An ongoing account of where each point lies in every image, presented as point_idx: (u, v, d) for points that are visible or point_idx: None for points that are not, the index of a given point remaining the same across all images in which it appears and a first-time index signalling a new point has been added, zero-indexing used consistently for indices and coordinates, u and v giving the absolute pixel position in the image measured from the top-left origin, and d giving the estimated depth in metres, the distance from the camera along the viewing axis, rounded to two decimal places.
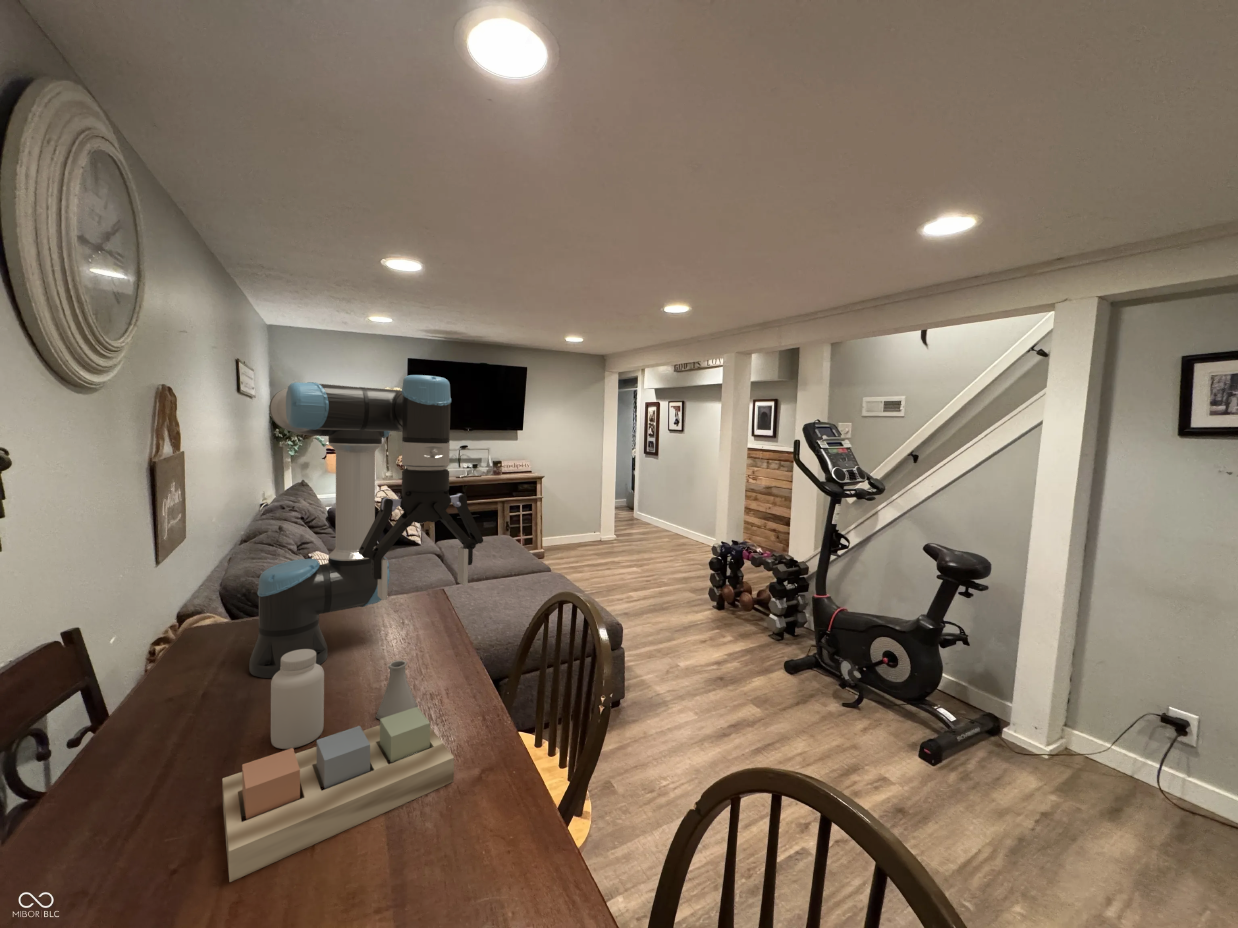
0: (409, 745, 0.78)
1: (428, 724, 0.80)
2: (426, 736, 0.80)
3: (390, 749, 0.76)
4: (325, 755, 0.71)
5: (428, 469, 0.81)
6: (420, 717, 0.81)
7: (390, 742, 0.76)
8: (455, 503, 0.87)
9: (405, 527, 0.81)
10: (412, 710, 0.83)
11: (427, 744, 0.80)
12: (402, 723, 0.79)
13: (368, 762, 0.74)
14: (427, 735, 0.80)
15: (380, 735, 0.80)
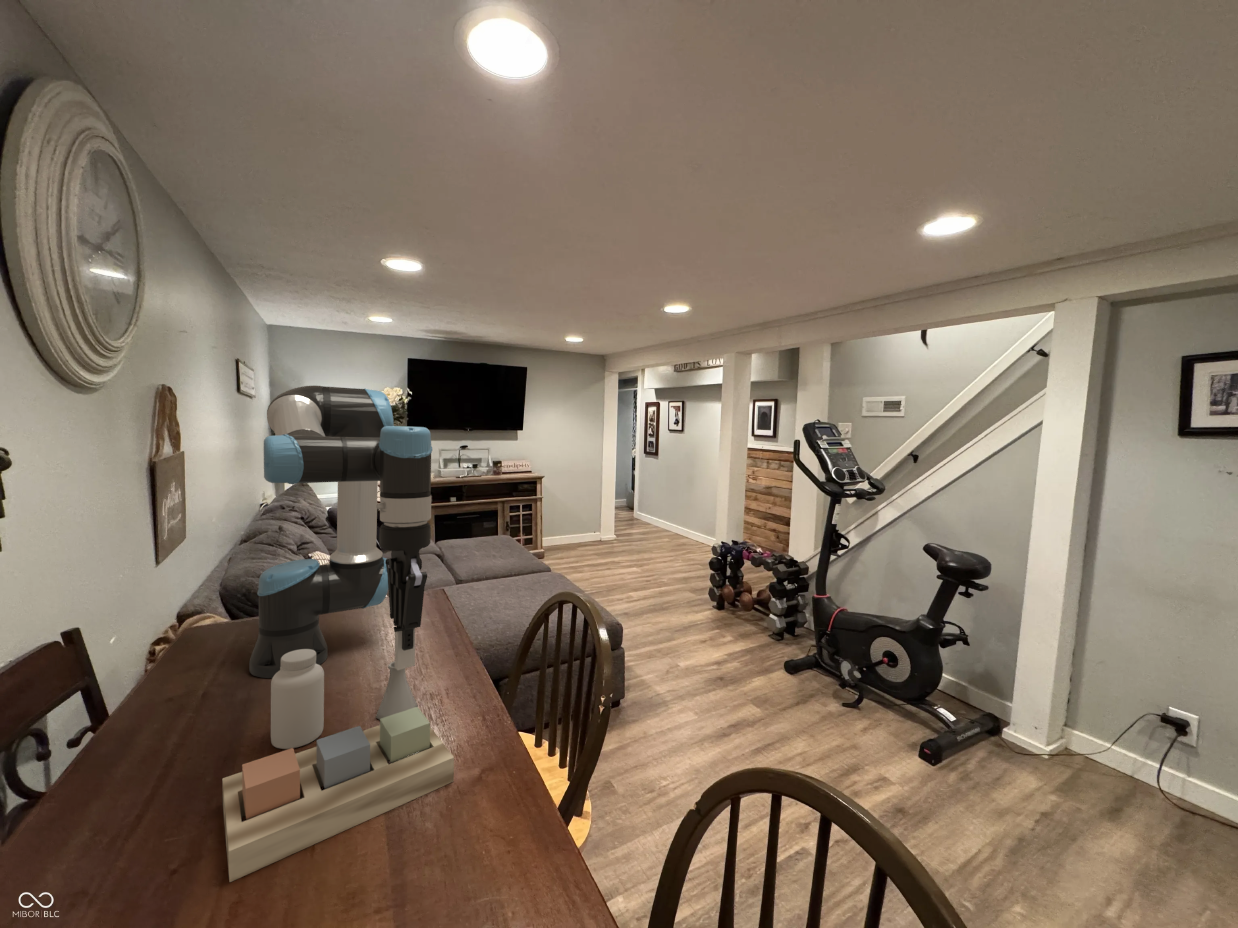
0: (409, 745, 0.78)
1: (428, 724, 0.80)
2: (426, 736, 0.80)
3: (390, 749, 0.76)
4: (325, 755, 0.71)
5: (384, 523, 0.77)
6: (420, 717, 0.81)
7: (390, 742, 0.76)
8: None
9: (395, 586, 0.79)
10: (412, 710, 0.83)
11: (427, 744, 0.80)
12: (402, 723, 0.79)
13: (368, 762, 0.74)
14: (427, 735, 0.80)
15: (380, 735, 0.80)
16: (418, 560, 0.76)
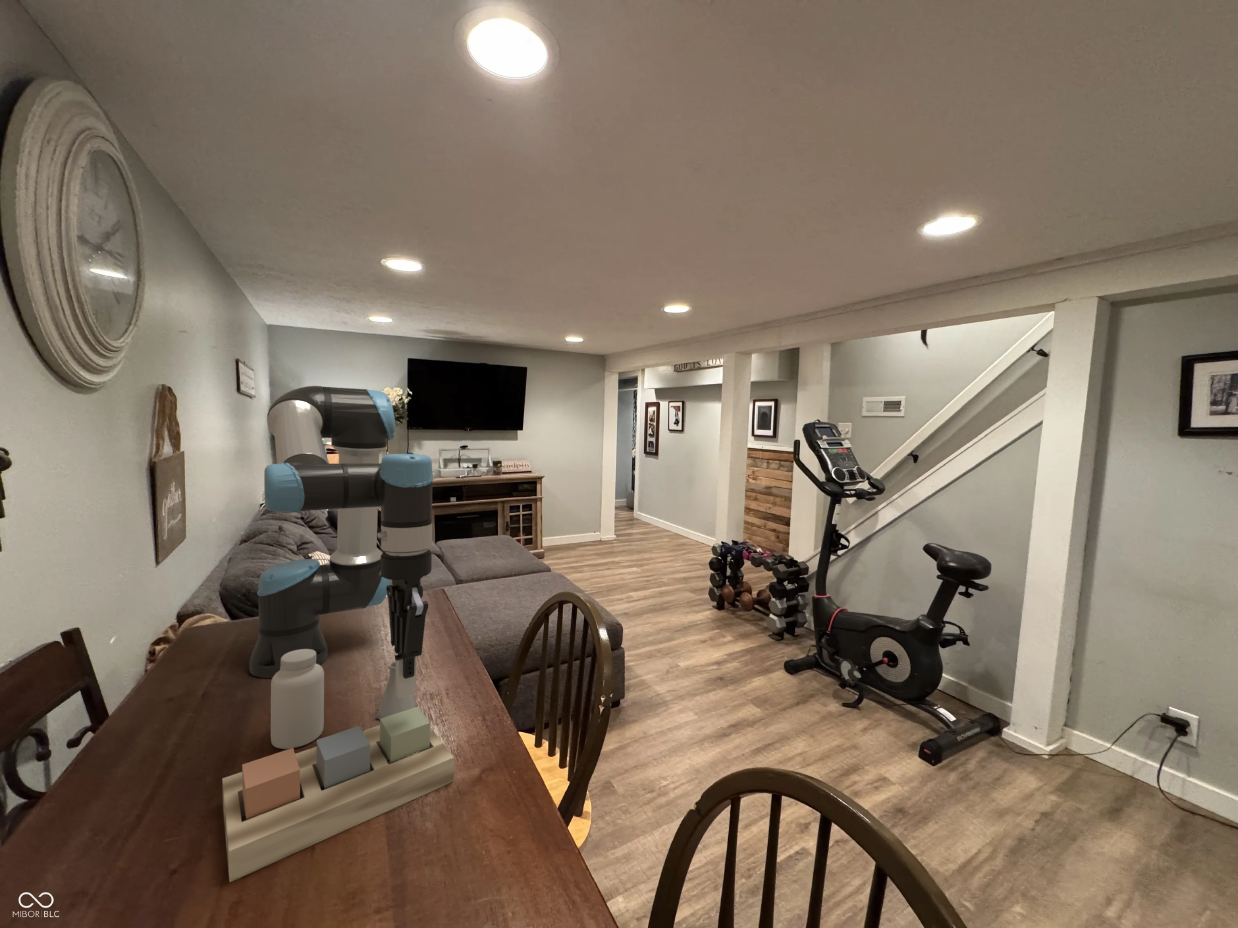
0: (409, 745, 0.78)
1: (428, 724, 0.80)
2: (426, 736, 0.80)
3: (390, 749, 0.76)
4: (325, 755, 0.71)
5: (385, 552, 0.77)
6: (420, 717, 0.81)
7: (390, 742, 0.76)
8: (412, 604, 0.75)
9: (396, 614, 0.79)
10: (412, 710, 0.83)
11: (427, 744, 0.80)
12: (402, 723, 0.79)
13: (368, 762, 0.74)
14: (427, 735, 0.80)
15: (380, 735, 0.80)
16: (419, 589, 0.76)
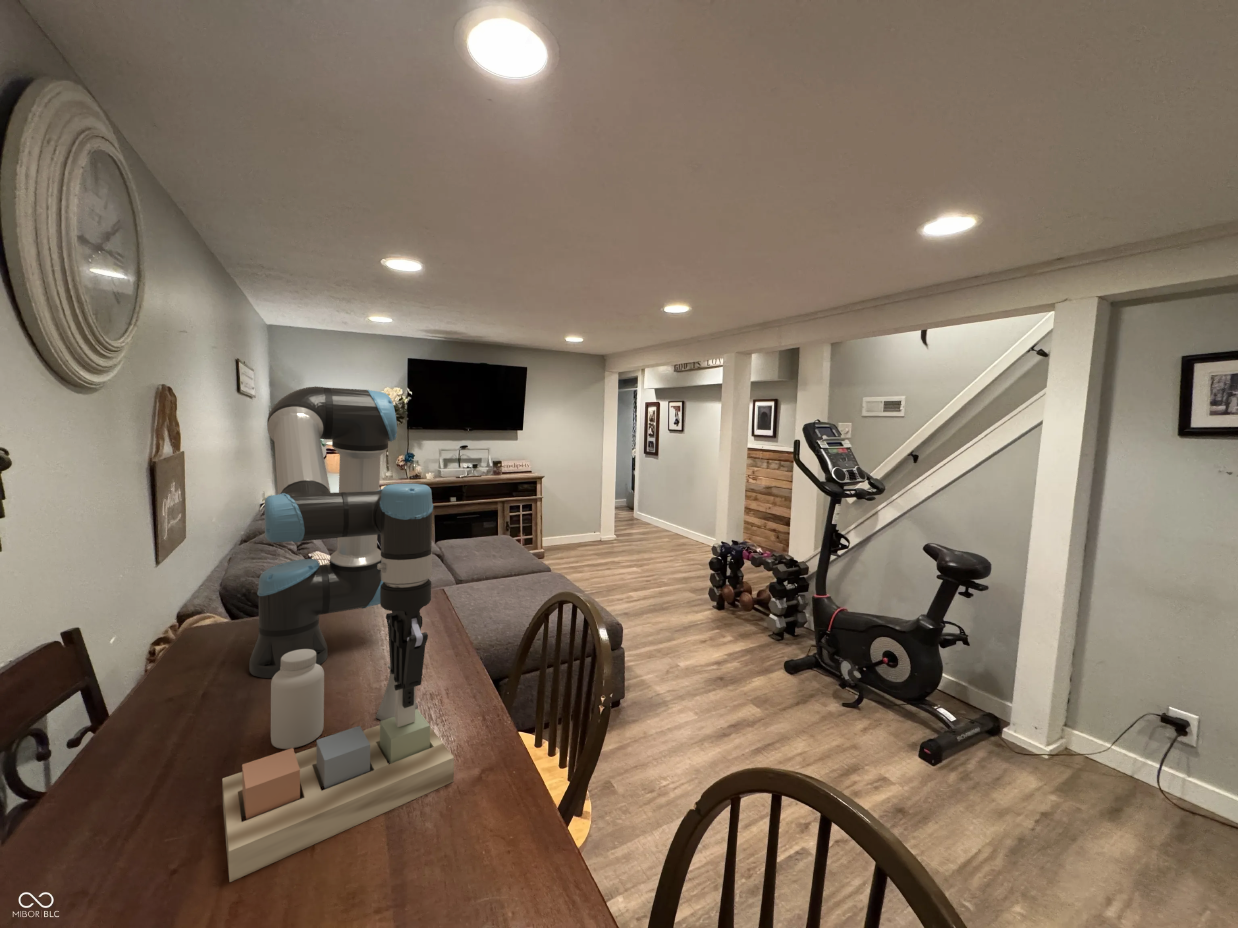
0: (409, 747, 0.78)
1: (428, 727, 0.80)
2: (426, 739, 0.80)
3: (390, 752, 0.76)
4: (325, 755, 0.71)
5: (385, 582, 0.77)
6: (420, 719, 0.81)
7: (390, 745, 0.76)
8: (411, 635, 0.76)
9: (396, 643, 0.79)
10: None
11: (427, 747, 0.80)
12: (402, 726, 0.80)
13: (368, 762, 0.74)
14: (427, 738, 0.80)
15: (380, 737, 0.80)
16: (419, 620, 0.76)
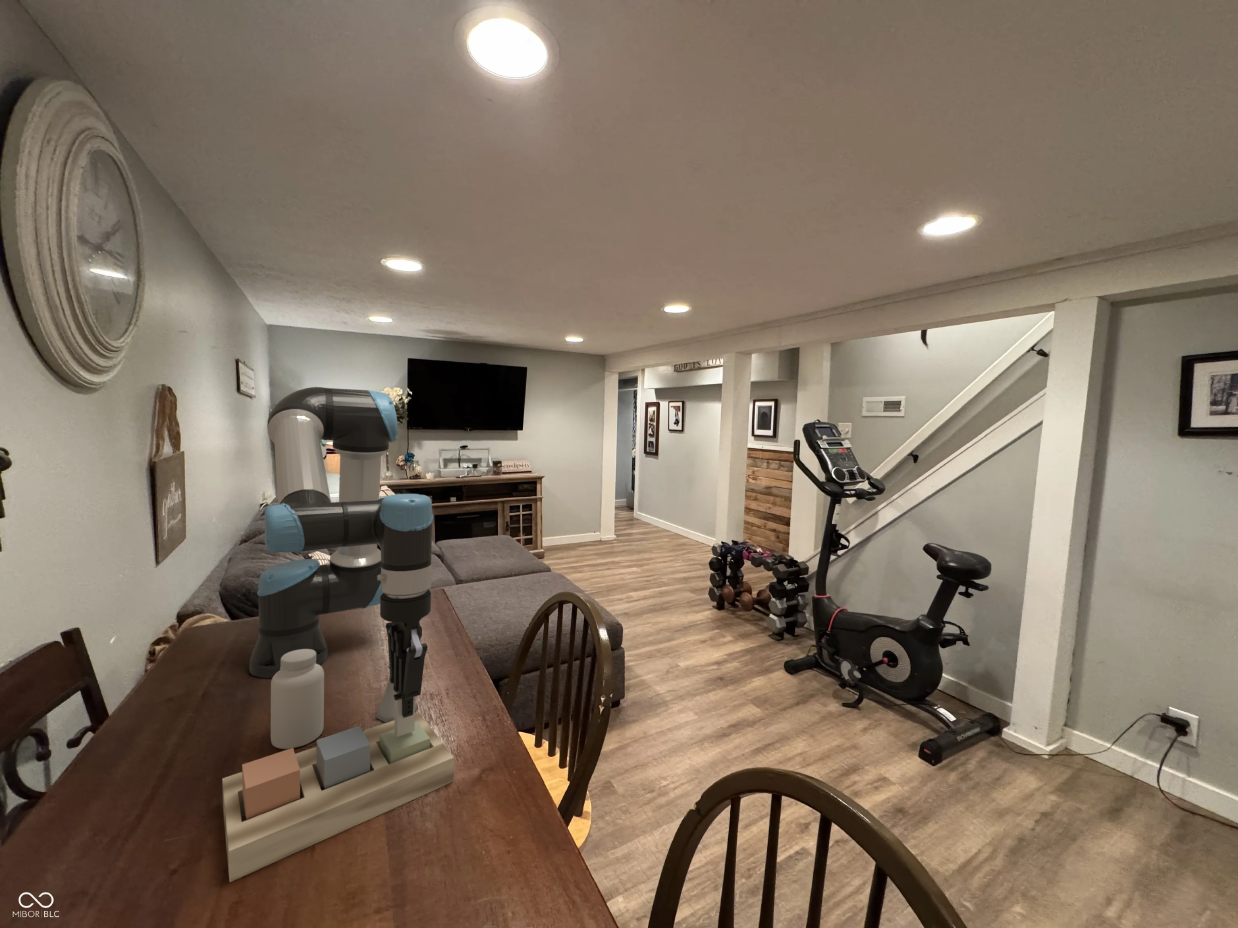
0: None
1: (428, 740, 0.80)
2: None
3: None
4: (325, 755, 0.71)
5: (385, 593, 0.77)
6: (420, 732, 0.82)
7: (390, 758, 0.77)
8: (411, 646, 0.76)
9: (395, 653, 0.80)
10: None
11: None
12: (402, 739, 0.80)
13: (368, 762, 0.74)
14: None
15: None
16: (418, 631, 0.77)
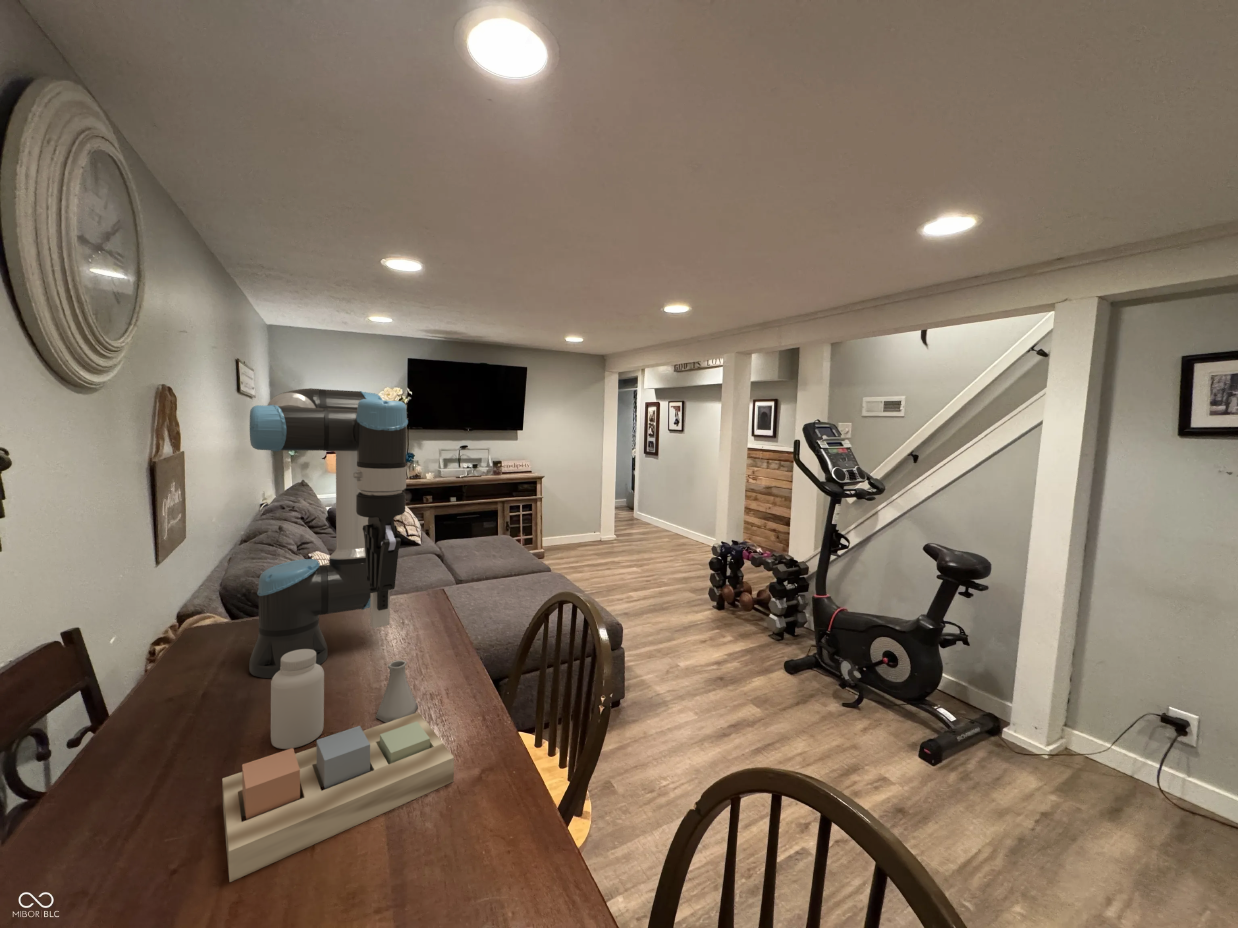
0: None
1: (428, 740, 0.80)
2: None
3: None
4: (325, 755, 0.71)
5: (361, 492, 0.82)
6: (420, 732, 0.82)
7: (390, 758, 0.77)
8: None
9: (371, 551, 0.84)
10: (412, 724, 0.84)
11: None
12: (402, 739, 0.80)
13: (368, 762, 0.74)
14: None
15: None
16: (392, 527, 0.81)
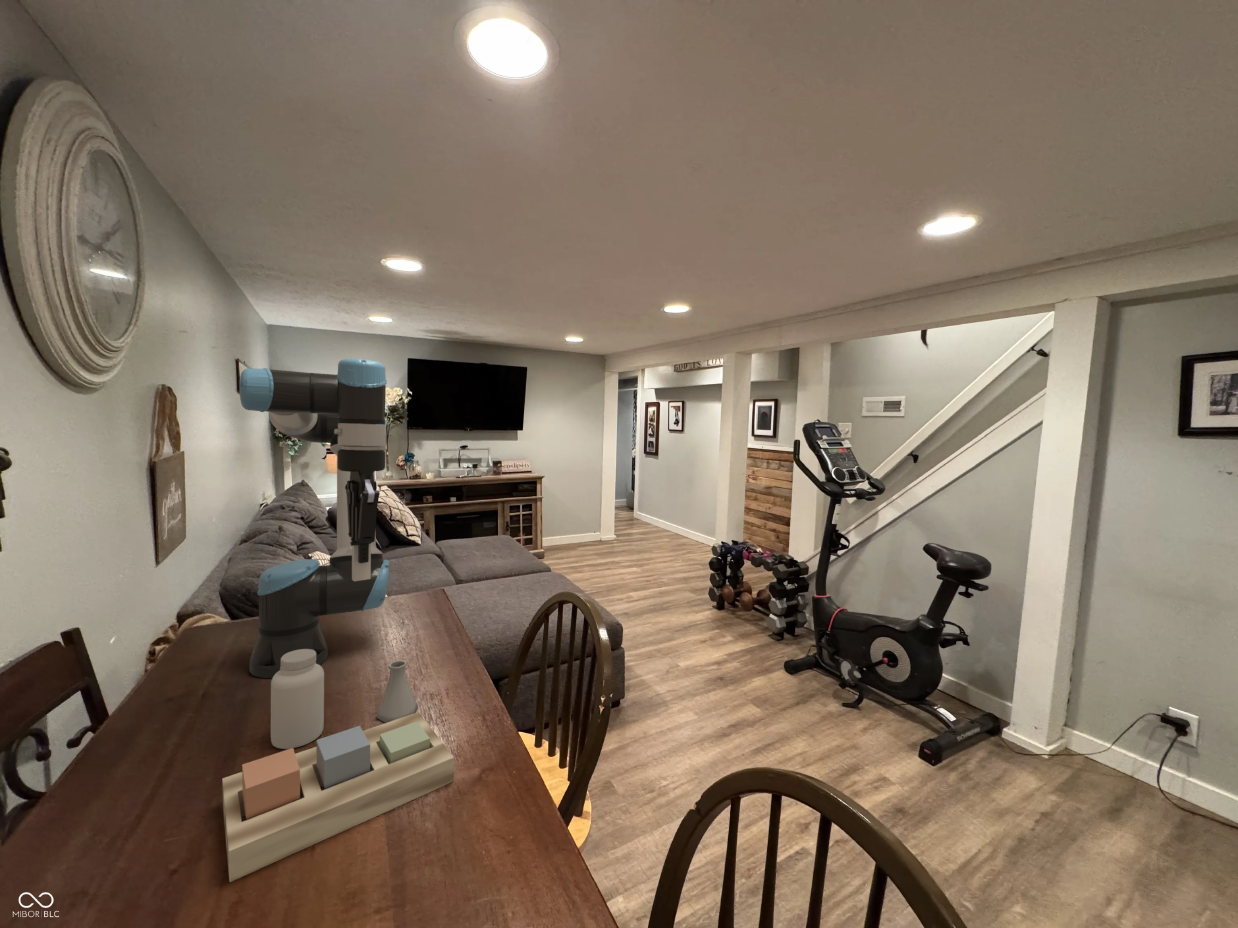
0: None
1: (428, 740, 0.80)
2: None
3: None
4: (325, 755, 0.71)
5: (341, 448, 0.85)
6: (420, 732, 0.82)
7: (390, 758, 0.77)
8: None
9: (352, 506, 0.87)
10: (412, 724, 0.84)
11: None
12: (402, 739, 0.80)
13: (368, 762, 0.74)
14: None
15: None
16: (372, 480, 0.85)
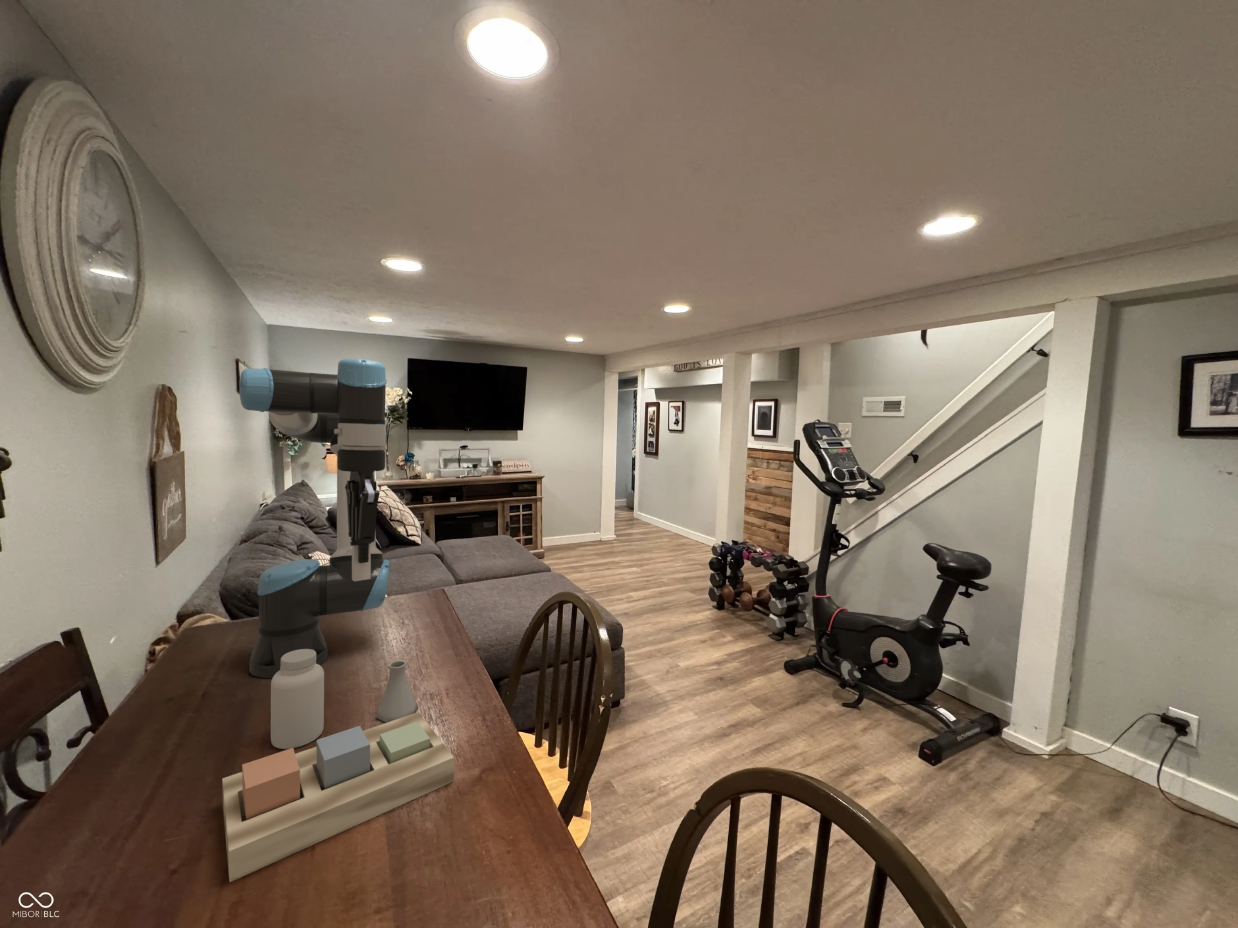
0: None
1: (428, 740, 0.80)
2: None
3: None
4: (325, 755, 0.71)
5: (341, 448, 0.85)
6: (420, 732, 0.82)
7: (390, 758, 0.77)
8: None
9: (352, 506, 0.87)
10: (412, 724, 0.84)
11: None
12: (402, 739, 0.80)
13: (368, 762, 0.74)
14: None
15: None
16: (372, 480, 0.85)
